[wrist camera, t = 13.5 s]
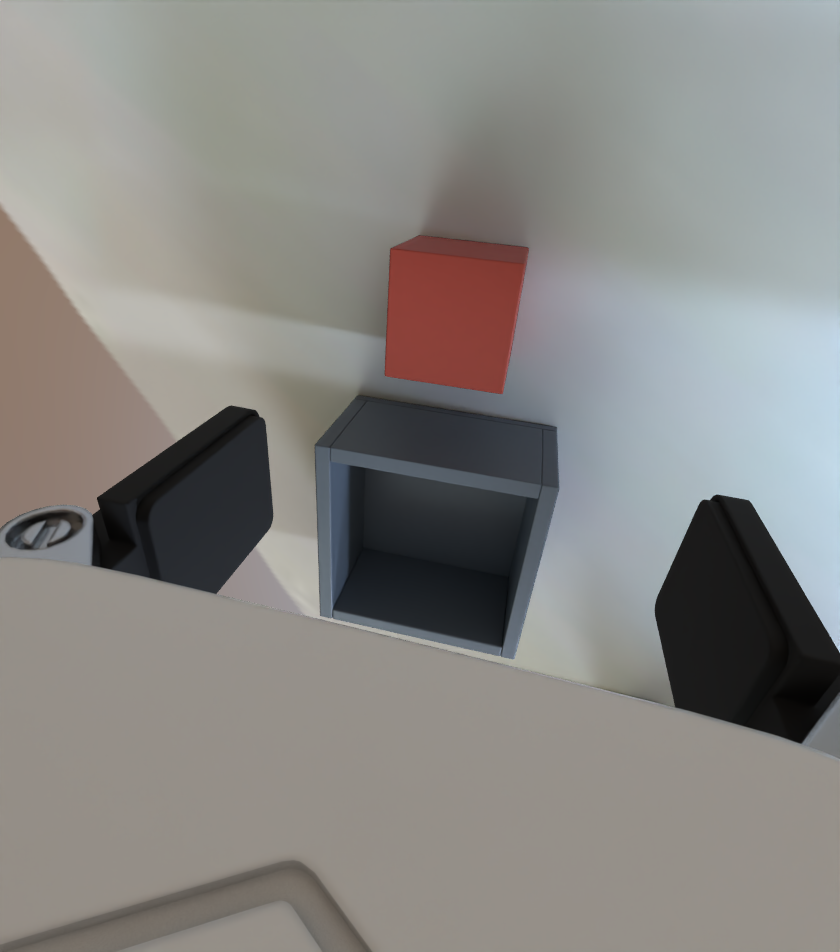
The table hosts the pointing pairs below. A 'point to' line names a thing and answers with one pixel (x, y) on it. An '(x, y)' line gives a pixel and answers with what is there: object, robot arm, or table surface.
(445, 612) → the tub
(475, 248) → the block
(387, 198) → the table surface
